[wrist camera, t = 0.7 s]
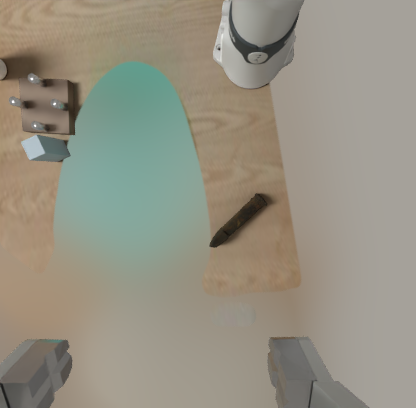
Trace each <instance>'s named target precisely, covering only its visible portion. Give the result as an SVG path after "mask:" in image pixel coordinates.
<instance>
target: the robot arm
mask: <svg viewBox="0 0 416 408" xmlns="http://www.w3.org/2000/svg"><path fill="white" fill-rule="evenodd" d="M303 2H304V0H226V1H224V2H223V7H222V19H221V23H220V27H219V31H218V35H217V39H216V43H215V47H214V52H213V58H214V60H215V61H216V62H217V63H218V64H220V65H221V66H222V67H223V69H224V71H225V73H226V74H227V76H228V77H229V79H230V80H231V81H232V82H233V83H235V84H236V85H238V86H240V87H243V88H248V89H253V88H259V87H262V86H264V85H266V84H267V83H269V82H270V81H271V80H272V79H273V78H274V77H275V76H276V75H277V73H278V72H279V71H280V70H281V69H282V68H283V67H284V66H286V65H288V64H289V63H290V62H291V61H292V60H293V56H294V49H293V44H294V42H295V38H296V36H295V35H294V28H295V26H296V22H297V19H298V15H299V10H300V9H301V6H302V4H303ZM219 48H220V49H221V50H220V51H219V50H218V49H219ZM268 345H269V348H270V352H269V353H268V370H269V375H270V379H271V383H272V385H273V386H274V387H275V388H276V401H277V405H278V408H369V407H368V406H367V405H366V404H365V403H363V402H362V401H361V400H360V399H358V398H357V397H356V396H355V395H354V394H353V393H352V392H350V391H349V390H348V389H347V388H346V387H344V386H343V385H342V384H341V383H340V382H338V381H334V380H333V379H332V377H331V375H330V374H329V372H328V370H327V368H326V366H325V365H324V363H323V361H322V359H321V357H320V356H319V354H318V352H317V350H316V348H315V347H314V345H313V343H312V341H311V340H310V339H309V338H308V337H271V338H270V339H269V344H268ZM68 348H69V344H68V341H67V340H47V339H27V340H26V341H24V342H22V343H21V344H20V345H19V346H18V347H17V348H16V349H15V350H14V351H13V352H12V353H11V354H10V355H9V356H8V357H7V358H6V359H5V360H4V361H3V362H2V363H1V364H0V408H49V407H50V406H51V404H52V402H53V401H54V395H55V392H56V391H57V390H58V389H59V388H61V387H62V386H63V385H64V383H65V382H66V380H67V378H68V376H69V374H70V371H71V368H72V357H71V355H70V354H69V353H68V352H67V350H68Z"/></svg>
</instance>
